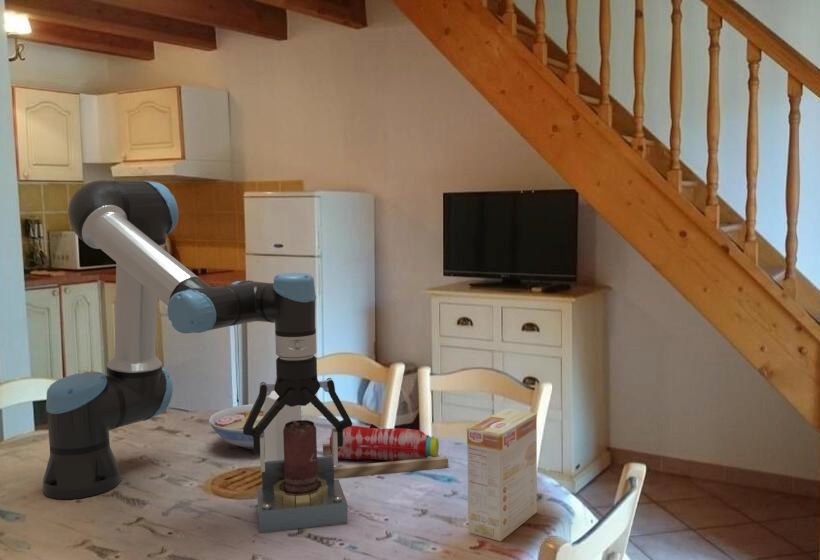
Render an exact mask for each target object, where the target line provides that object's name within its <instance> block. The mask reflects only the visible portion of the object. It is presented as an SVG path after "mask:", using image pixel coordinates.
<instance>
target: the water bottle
mask: <svg viewBox="0 0 820 560" xmlns="http://www.w3.org/2000/svg"><path fill="white" fill-rule="evenodd" d="M428 435H429V434H426V433H425V432H423V431H422V430H419V429H411V428H401V427H400V428H399V427H396V428H394V427H393V428H380V427H378V426H376V425H374V424H373V423H371V424H370V426H367V427H366V426H359V425H358V426H357V425H352V426H351V427H347V428H345V429H344V430H343V445H342V447H338V459H339V458H340V459H342V460H343V459H345V460H376V461H377V460H380V461H386V462H392V461H403V460H413V459H424V458H435V457H438V456H439V455H438V454H439V449H440V448H439V447H440V445H439V439H438V437H435V436H434V435H432V436H430V437H428ZM329 437H330V438H329V444H330V450H331V453H332V432H331V433H330V436H329Z"/></svg>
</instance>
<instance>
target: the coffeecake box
mask: <svg viewBox="0 0 820 560" xmlns="http://www.w3.org/2000/svg"><path fill="white" fill-rule="evenodd" d="M537 415H538V414H537V413H535V412H530V411H523V410H519V409H515V408H508V407H507V408H503V409H501V410H500V411H498V412H496V413H494V414H492V415H490V416H488V417H486V418H484V419H483V420H481V421H479V422H476V423H475V424H472V425H470V426H469V427H466V436H467V437H466V441H467V443H466V444H467V446H466V447H467V448H466V449H467V451H466V452H467V516H468V517H467V520H468V521H467V522H468V523H467V524H468V525H467V529H468V530H467V531H468V533H469V534H471V535H475V536H477V537H478V536H479V537H484V538H487V539H489V540H493V541H497V542H502V541H504V539H506V538H507V537H508V536H509V535H511V534H512V533H513V532H514V531H515V530H517V529H518V528H519V527H520V526H522V525H523V524H525V523H526V522H527V521H528V520H530V518H532V517H533V516H534V515H536V514H537V513H538V508H537V506H538V505H537V503H538V502H537V499H538V498H537V497H538V495H537V494H538V492H537V491H538V490H537V489H538V488H537V487H538V481H537V479H538V478H537V476H538V473H537V471H538V466H537V465H538V464H537V463H538V461H537V460H538V459H537V457H538V456H537V455H538V454H537V452H538V451H537V447H538V446H537V444H538V443H537V436H538V435H537V432H538V429H537V423H538V422H537Z"/></svg>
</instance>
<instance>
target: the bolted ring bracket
mask: <svg viewBox="0 0 820 560" xmlns="http://www.w3.org/2000/svg"><path fill="white" fill-rule="evenodd" d="M334 467H335V466H334V464H333V462H332V455H326V456H325V455H322V456H317V477H318V490H315V491H312V492H309V493H301V494H292V493H285V470H284V460H278V461H267V462H265V472H261V484H262V485H261V486H257V487H256V491H257V492H256V495H257V497H256V498H257V516H258V527H259V528H258V529H259V530H258V531H259V534H262V533H271V532H272V533H273V532H280V531H289V530H299V529H305V528H307V529H308V528H315V527H324V526H325V527H327V526H334V525H335V526H336V525H343V524H348V502H347V498H346V497H345V493H344V491H343V489H342V485H341V482H340V479H339V478H336V479H335V478H334Z"/></svg>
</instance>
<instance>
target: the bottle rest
mask: <svg viewBox="0 0 820 560" xmlns="http://www.w3.org/2000/svg"><path fill="white" fill-rule="evenodd" d="M427 435H428V437H431V436H430V435H429V434H427ZM322 454H323V456H325V455H332V453H331V450H330V443H325V444H324V443H322ZM444 467H448V468H449V457H447V456H437V457H427V458H424V459H413V460H403V461H383V462H373V463H363V464H362V463H361V464H352V465H351V464H350V465H349V464H348V465H340V466H339V465H337V466H334V479H343V478H351V477H352V478H354V477H364V476H365V477H366V476H373V475H385V474H393V473H394V474H396V473H403V472H404V473H405V472H407V473H408V472H413V471H424V470H425V471H426V470H436V468H438V469H445V468H444Z"/></svg>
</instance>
